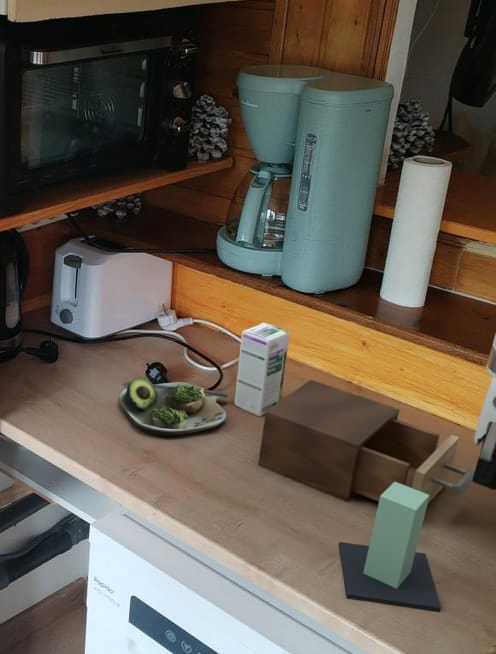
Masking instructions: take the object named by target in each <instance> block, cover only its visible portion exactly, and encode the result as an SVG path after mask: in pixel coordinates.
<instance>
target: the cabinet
mask: <svg viewBox="0 0 496 654" xmlns="http://www.w3.org/2000/svg"><path fill="white" fill-rule="evenodd" d="M399 415H400V408H396V407H393V406H391V405H387V404H384V403H383V402H382V403H381V402H378V401H375V400H372V399H370V398H367V397H364V396H360V395H357V394H354V393H353V392H352V393H351V392H348V391H346V390H342V389H340V388H337V387H333V386H331V385H327V384H326V383H322V382H319V381H316V380H313V379H309V380H308V381H307V382H305V383H304V384H302V385H301V386H299V387H298V388H297V389H295V390H294V391H292V392H291V393H290V394H288V395H287V396H286V397H284V398H283V399H281V401H280V402H278V403H277V404H276V405H274V406H273V407H271V408H270V409H269V410H267V411H266V413H265V414H264V420H263V421H264V422H263V427H262V436H261V441H260V449H259V456H258V463H257V466H259V467H262V468H263V469H267V470H268V471H271V472H274V473H276V474H279V475H281V476H284V477H286V478H288V479H291V480H293V481H296V482H298V483H301V484H302V485H305V486H307V487H310V488H313V489H315V490H317V491H320V492H322V493H325V494H327V495H330V496H332V497H334V498H337V499H339V500H342V501H344V502H347V503H348V502H349V501H350V500H351V499H352V498H353V497H354V496H355V495H356V494H357V493H356V492H353V491H351V490H352V485H353V480H354V476H355V471H356V466H357V461H358V456H359V451H360V448H361V447H362V446H363V445H364V444H365V443H366V442H367V441H369V440H370V439H371V438H372V437H373V436H374V435H375V434H377V433H378V432H379V431H380V430H381V429H382V428H383V427H384V426H386V425H387V424H388V423H389V422H390V421H391V420H392V419H393V418H394V419H397V420H399Z"/></svg>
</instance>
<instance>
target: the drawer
mask: <svg viewBox="0 0 496 654" xmlns="http://www.w3.org/2000/svg"><path fill="white" fill-rule="evenodd" d="M439 440H440V433H437V432H435V431H432V430H429V429H426V428H423V427H420V426H417V425H415V424H412V423H408V422H405V421H402V420H400V419H398V420H397V419H394V418H393V419H392V420H391V421H390V422H389V423H388V424H387V425H386V426H384V427H383V428H382V429H381V430H380V431H379V432H378V433H377V434H375V435H374V436H373V437H372V438H371V439H370V440H369V441H367V442H366V443H365V444H364V445H363V446H362V447H361V448H360V451H359V456H358V461H357V466H356V471H355V476H354V480H353V485H352V490H351V491H353V492H356V494H358V495H360V496H363V497H366V498H368V499H371V500H373V501H376V502H378V503H379V500H380V496H381V495H382V494H383V493H384V492H385V491H386V490H387V489H388V488H389V487H390V486H391V485H392V484H393V483H394V482H397V483H399V484H402V485H405V486H407V487H410V488H412V489H415V490H418V491H420V492H423V493H425V494H428V495H430V496H429V500H428V504H427V506H428V505H429V504H430V503H431V502H432V500H433V499H435V497H436V496H437V495H438V494H439V492H440V491H441V490H442V489H443V488H446V489H448V490H451V493H452V494H453V495H455V496H461V495H462V494H463V493H464V492H465V490H467V489H468V487H469V486H470V485H471V484H472V482H473V481H472V479H473V476H474V472H475V469H472V468H470V469H467V470H466V469H465V468H461V467H458V466H455V465H453V464H454V460H455V456H456V454H457V453H456V452H457V448H458V444H459V441H460V437H459V436H457V435H455V434H450V435H449V436H448V437H447V439H445V440H444V441H442V443H441V444H440V446H438V444H439ZM451 472H454V473H456V474H459V475H462V476H461V477H460V478H459V479H458V480H457V482H456V483H454V484H453V483H450V482H449V480H450V475H451Z"/></svg>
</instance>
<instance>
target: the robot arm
mask: <svg viewBox="0 0 496 654" xmlns="http://www.w3.org/2000/svg"><path fill="white" fill-rule="evenodd" d="M485 368H486V372H487V373H488V374H489V375H490V376H492V377H491V380H490V383H489V386H488V389H487V390H486V394H485V398H484V401H483V404H482V407H481V411H480V414H479V417H478V420H477V423H476V429H475V432H474V437H473V442H474V444H475V446H476V447H478V446H479V445H481V448H480V452H479V456H478V459H477V461H476V465H475V469H474V470H475V472H474V476H473V479H472V482H473V483H474V484H477V485H479V486H482V487H484V488H488V489H489V490H493V491H496V333H495V334H494V338H493V342H492V346H491V349H490V351H489V357H488V359H487V363H486V367H485Z"/></svg>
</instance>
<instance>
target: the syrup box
mask: <svg viewBox="0 0 496 654" xmlns="http://www.w3.org/2000/svg"><path fill="white" fill-rule="evenodd" d="M290 335H291V334H290V331H288V330H285V329H283V328H281V327H279V326H277V325H274V324H270V323H266V322H261V323H260V324H257V325H255V326H252V327H249V328H247V329H244V330H242V331H241V339H240V346H239V347H240V349H239V356H238V357H239V358H238V366H237V374H236V376H237V377H236V383H235V384H236V385H235V394H234V403H233V404H234V406H236V407H238V408H240V409H241V410H243V411H246V412H248V413H251V414H253V415H255V416H257V417H262V416H264V415H265V414H266V411H267V410H269V409H270V408H271V407H273V406H274V405H276V404H277V403H278V402H280V401H281V400H282V394H283V386H284V379H285V372H286V371H285V370H286V366H287V365H286V363H287V356H288V350H289V349H288V347H289V341H290Z"/></svg>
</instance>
